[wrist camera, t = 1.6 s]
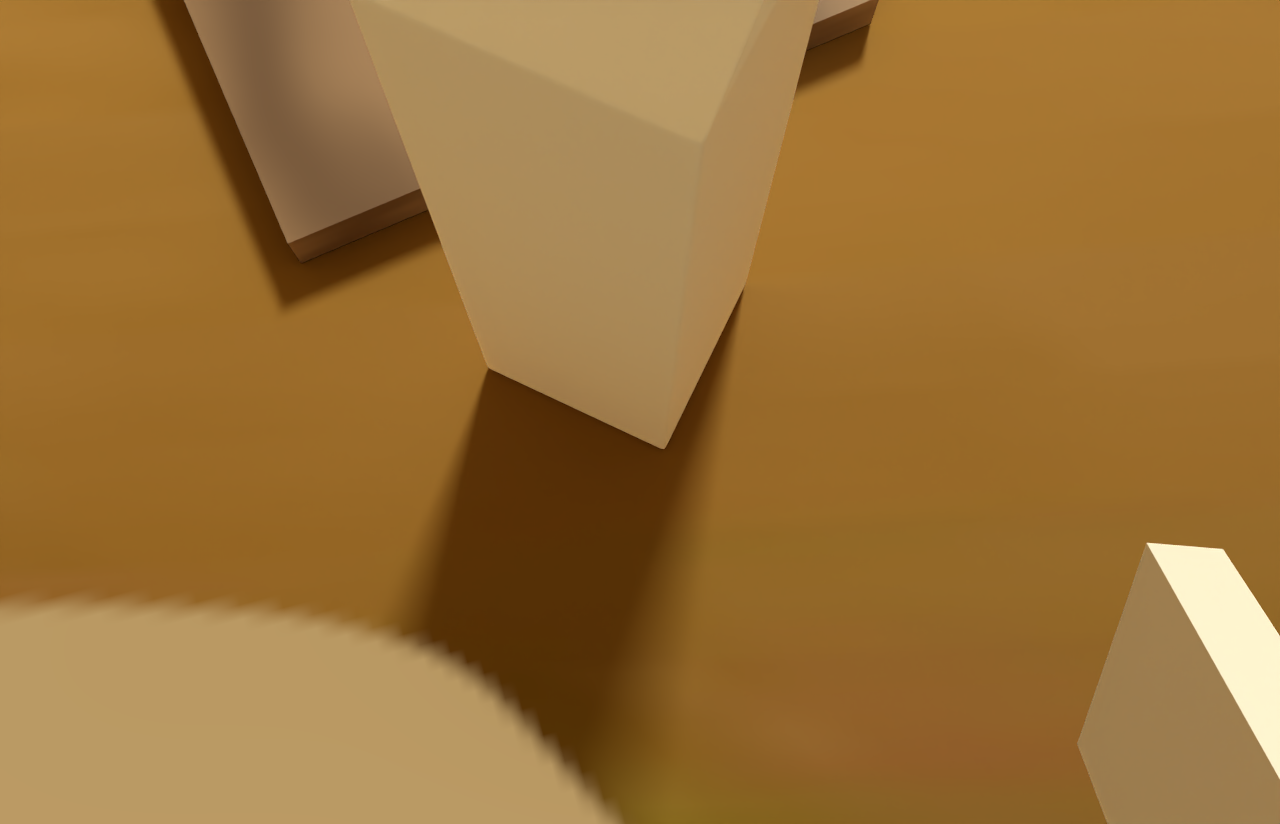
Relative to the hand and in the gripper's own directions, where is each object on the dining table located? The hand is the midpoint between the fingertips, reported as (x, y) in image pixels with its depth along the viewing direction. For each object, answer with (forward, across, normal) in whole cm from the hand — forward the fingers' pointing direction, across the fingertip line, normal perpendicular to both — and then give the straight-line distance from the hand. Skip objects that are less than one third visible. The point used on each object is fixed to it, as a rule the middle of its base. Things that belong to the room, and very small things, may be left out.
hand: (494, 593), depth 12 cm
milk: (+23, 0, -8) cm, 24 cm away
